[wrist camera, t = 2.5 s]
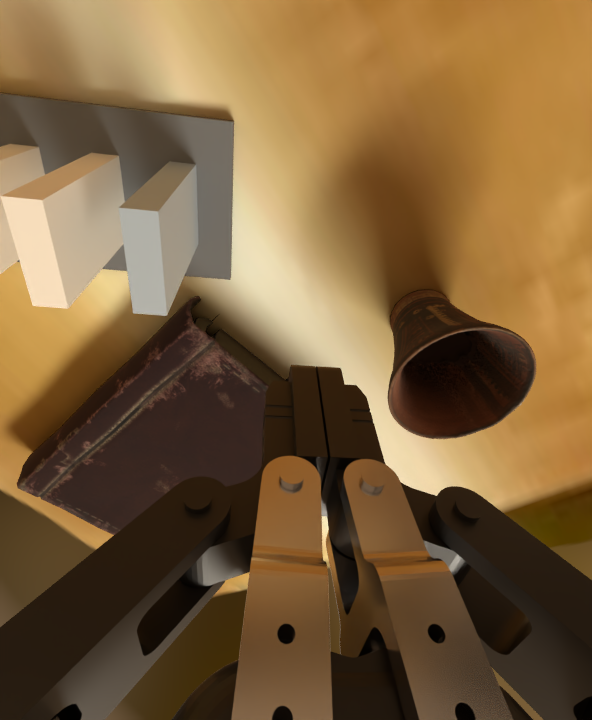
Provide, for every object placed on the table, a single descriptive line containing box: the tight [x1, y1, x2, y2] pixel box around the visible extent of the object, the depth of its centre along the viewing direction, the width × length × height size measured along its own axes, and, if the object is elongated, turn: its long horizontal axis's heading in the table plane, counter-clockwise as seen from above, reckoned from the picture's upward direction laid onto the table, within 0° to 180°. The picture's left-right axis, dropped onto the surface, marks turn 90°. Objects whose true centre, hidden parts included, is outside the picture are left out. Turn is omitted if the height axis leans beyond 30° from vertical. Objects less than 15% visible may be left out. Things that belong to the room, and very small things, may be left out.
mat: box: [0, 93, 234, 280], centre depth 26 cm, size 10×25×1 cm, turn 84°
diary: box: [17, 296, 289, 535], centre depth 38 cm, size 19×25×5 cm
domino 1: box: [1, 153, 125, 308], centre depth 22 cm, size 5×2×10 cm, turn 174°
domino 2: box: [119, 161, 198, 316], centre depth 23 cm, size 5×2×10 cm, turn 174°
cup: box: [388, 290, 536, 439], centre depth 29 cm, size 9×9×10 cm
